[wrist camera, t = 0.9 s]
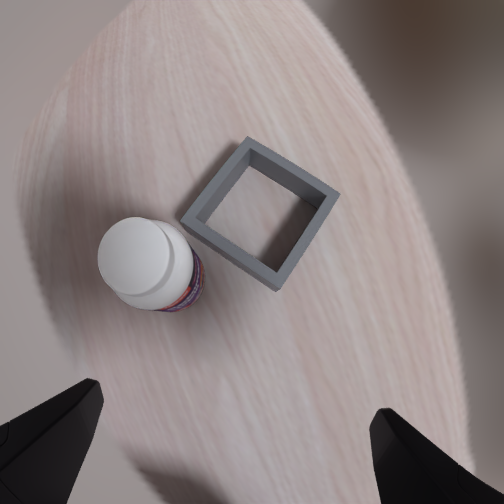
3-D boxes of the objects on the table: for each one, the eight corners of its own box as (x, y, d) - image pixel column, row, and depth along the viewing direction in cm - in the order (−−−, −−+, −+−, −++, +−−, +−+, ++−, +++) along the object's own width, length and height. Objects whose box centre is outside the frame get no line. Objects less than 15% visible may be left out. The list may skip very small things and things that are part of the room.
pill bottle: (189, 323, 23) (154, 328, 14) (131, 294, 24) (70, 280, 14) (217, 261, 24) (201, 226, 15) (158, 234, 25) (114, 189, 15)
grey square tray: (275, 292, 24) (280, 288, 21) (186, 231, 25) (179, 220, 22) (330, 206, 25) (340, 193, 23) (246, 154, 26) (247, 136, 23)
